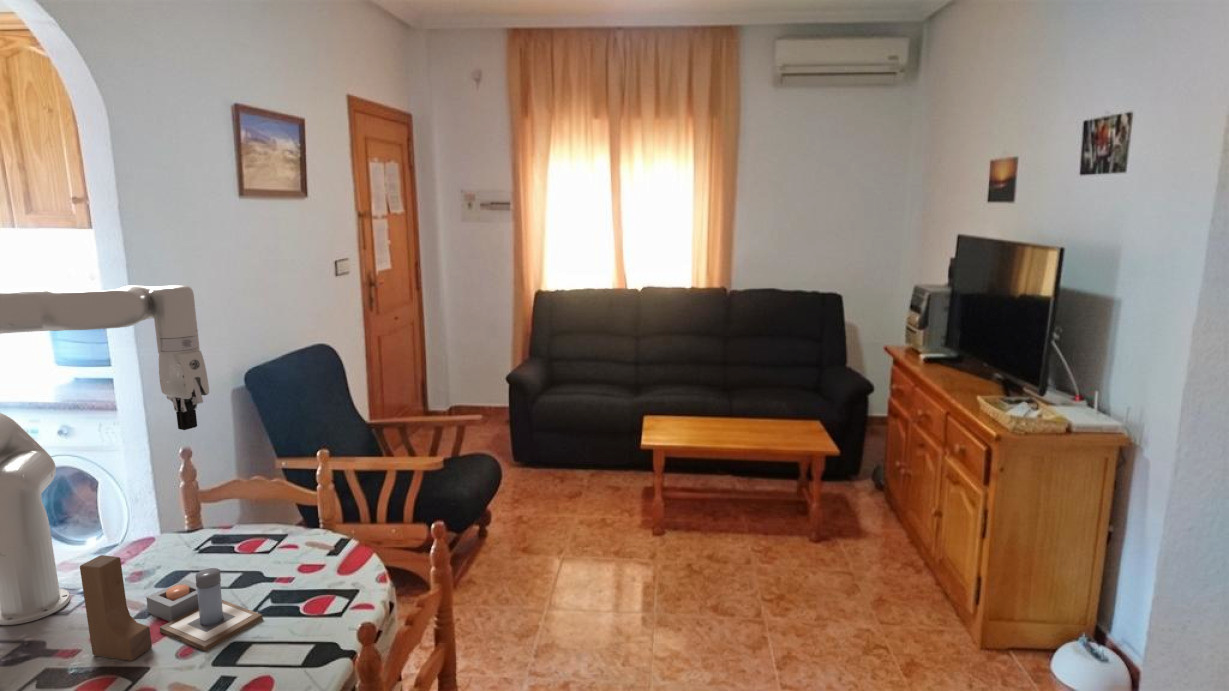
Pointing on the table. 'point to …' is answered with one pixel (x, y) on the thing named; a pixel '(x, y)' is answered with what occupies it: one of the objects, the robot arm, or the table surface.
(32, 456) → the robot arm
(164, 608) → the button housing
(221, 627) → the picture frame
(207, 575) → the grey capped shaker
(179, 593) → the button
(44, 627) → the table surface
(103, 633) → the wooden block
